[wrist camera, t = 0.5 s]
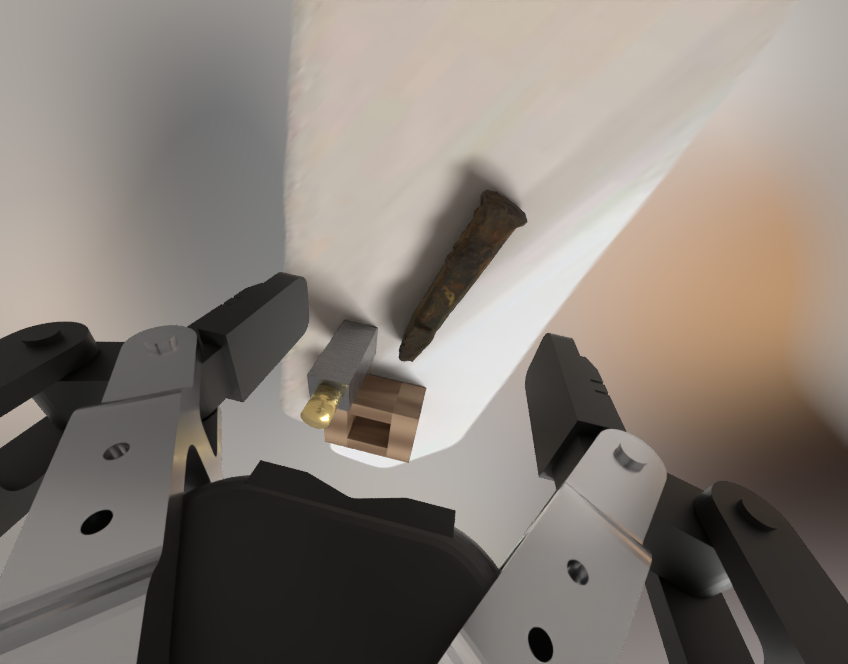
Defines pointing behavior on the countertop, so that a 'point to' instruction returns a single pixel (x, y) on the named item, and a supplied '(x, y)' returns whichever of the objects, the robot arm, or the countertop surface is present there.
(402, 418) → the housing
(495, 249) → the dark brown rod
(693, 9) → the countertop surface
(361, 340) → the bit
